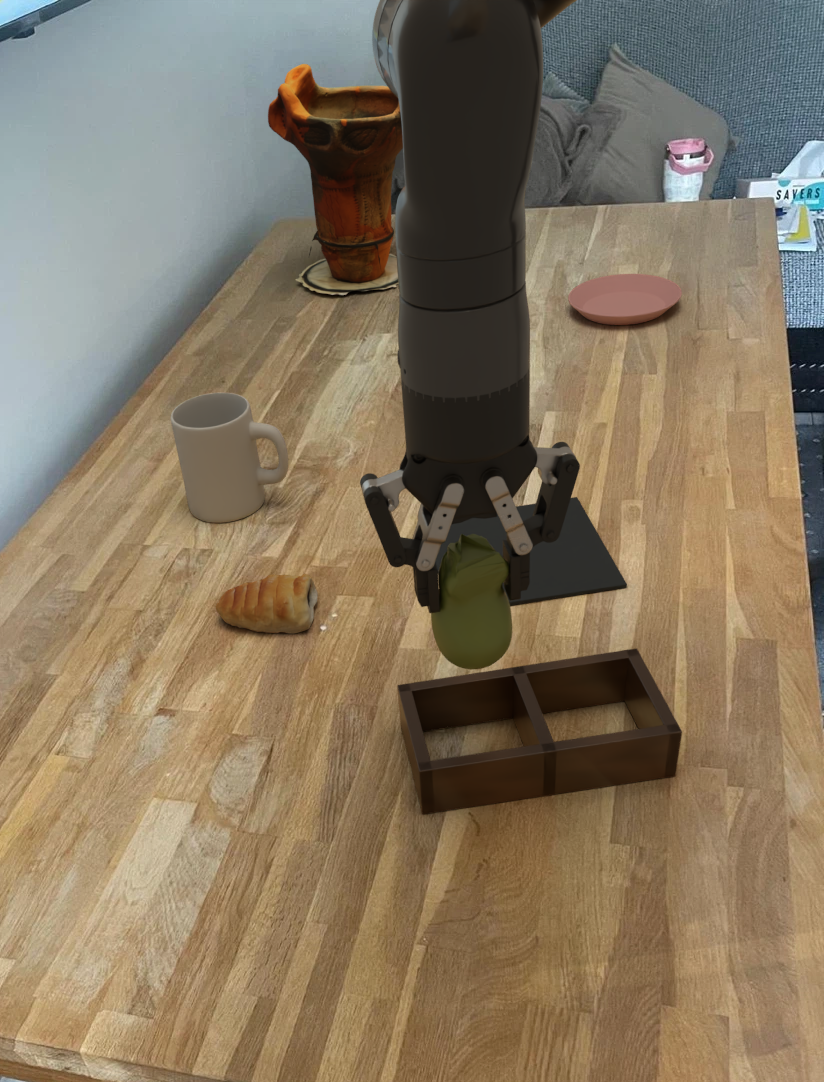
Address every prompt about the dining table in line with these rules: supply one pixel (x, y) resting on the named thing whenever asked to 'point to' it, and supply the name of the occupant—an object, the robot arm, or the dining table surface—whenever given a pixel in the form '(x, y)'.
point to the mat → (552, 556)
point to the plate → (624, 298)
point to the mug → (224, 456)
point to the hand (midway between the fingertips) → (472, 598)
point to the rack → (538, 731)
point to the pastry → (271, 604)
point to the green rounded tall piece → (472, 604)
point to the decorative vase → (345, 176)
